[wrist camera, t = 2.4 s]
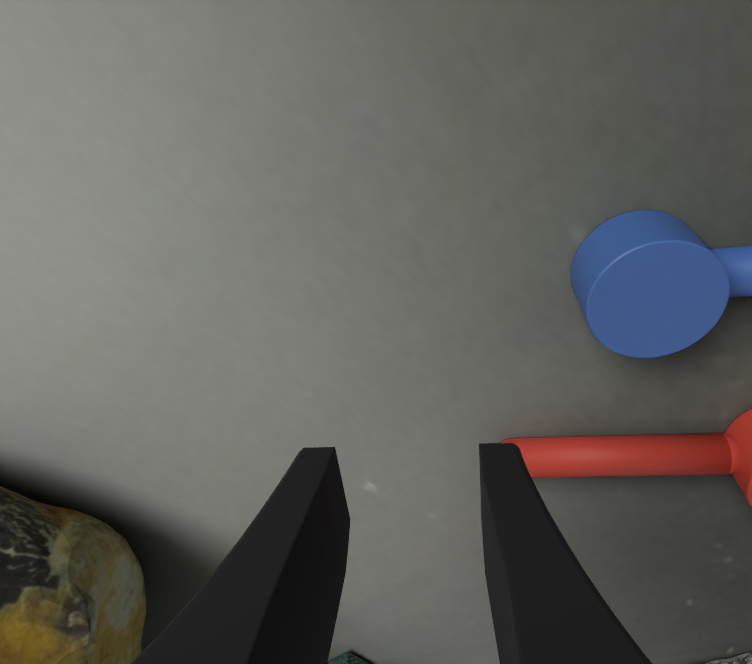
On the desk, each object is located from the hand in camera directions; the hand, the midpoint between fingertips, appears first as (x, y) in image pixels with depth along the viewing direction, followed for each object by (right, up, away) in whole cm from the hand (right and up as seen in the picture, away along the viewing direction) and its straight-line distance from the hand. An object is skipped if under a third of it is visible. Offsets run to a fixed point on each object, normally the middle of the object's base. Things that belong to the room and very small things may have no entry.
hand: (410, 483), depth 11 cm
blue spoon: (+10, +5, +6) cm, 13 cm away
